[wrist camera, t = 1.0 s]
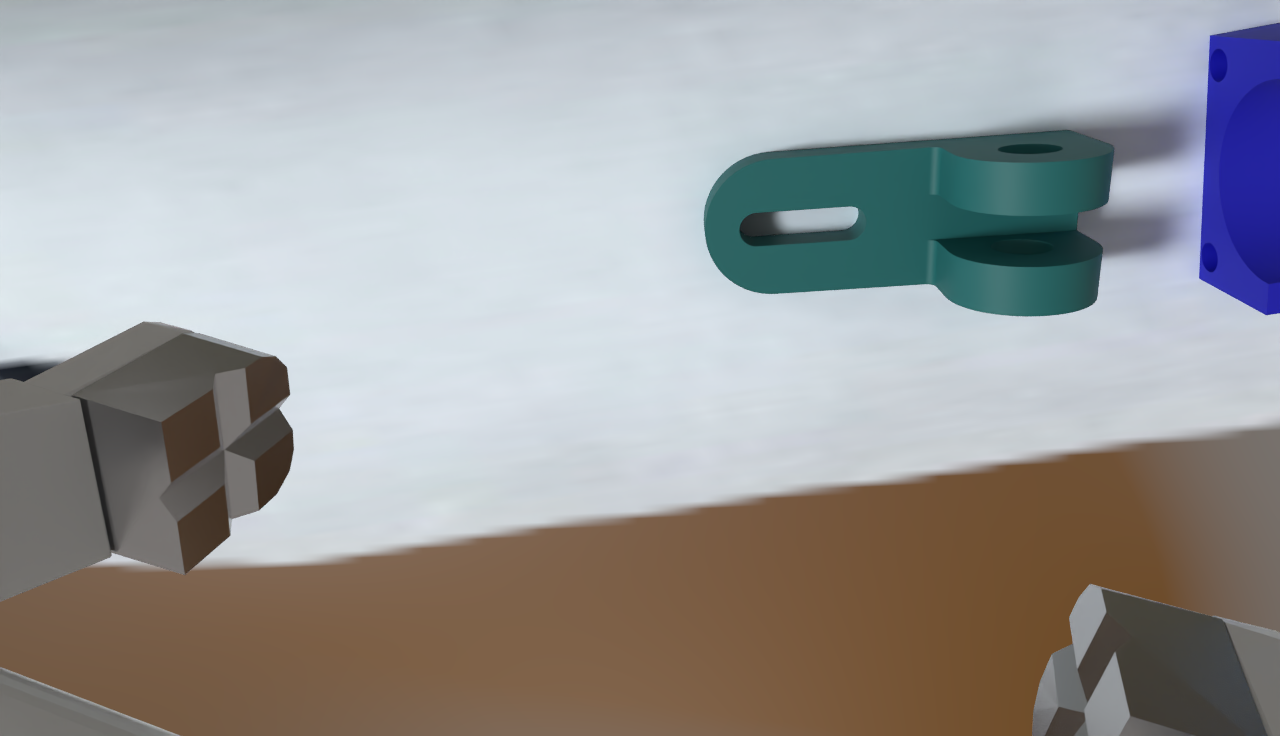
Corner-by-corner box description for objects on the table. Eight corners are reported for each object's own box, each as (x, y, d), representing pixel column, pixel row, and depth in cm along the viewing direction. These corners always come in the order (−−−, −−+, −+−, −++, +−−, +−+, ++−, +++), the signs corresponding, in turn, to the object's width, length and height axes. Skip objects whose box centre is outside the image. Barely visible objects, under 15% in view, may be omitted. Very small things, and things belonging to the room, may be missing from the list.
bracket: (1067, 129, 45) (1143, 155, 38) (1054, 262, 47) (1123, 311, 40) (700, 156, 46) (705, 186, 39) (707, 284, 48) (713, 336, 41)
